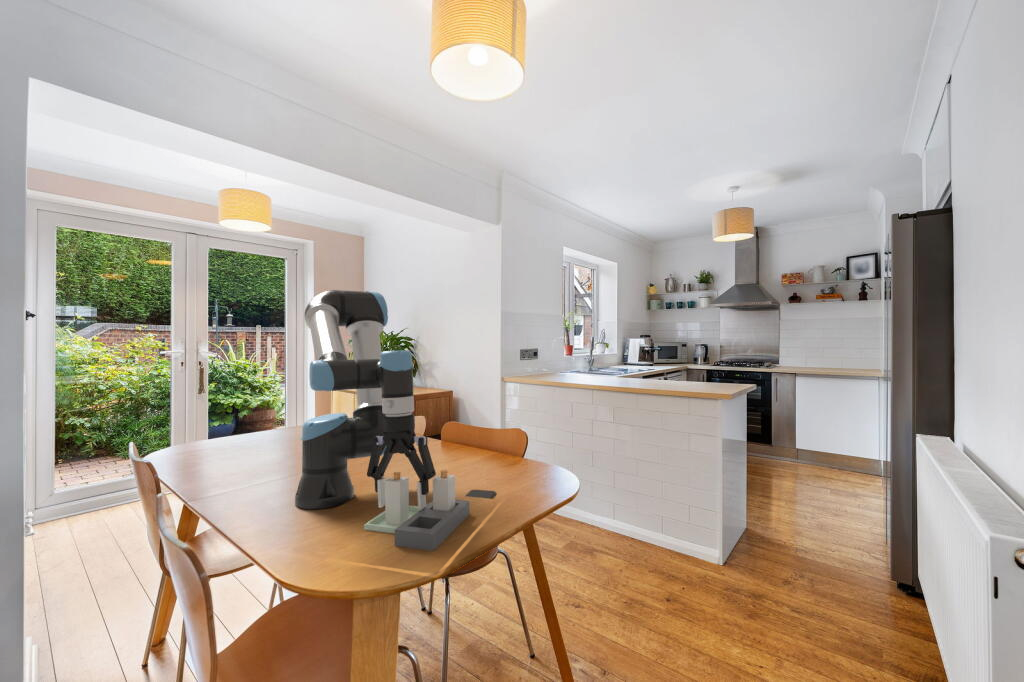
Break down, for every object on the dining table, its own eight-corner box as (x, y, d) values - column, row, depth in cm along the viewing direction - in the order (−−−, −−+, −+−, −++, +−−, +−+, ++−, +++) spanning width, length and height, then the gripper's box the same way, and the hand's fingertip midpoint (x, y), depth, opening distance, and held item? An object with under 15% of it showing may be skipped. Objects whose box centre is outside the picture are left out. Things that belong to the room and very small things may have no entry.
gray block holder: (394, 548, 93) (394, 489, 93) (436, 513, 112) (436, 464, 112) (433, 553, 90) (433, 492, 90) (469, 516, 109) (469, 466, 109)
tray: (364, 532, 101) (364, 524, 101) (395, 511, 114) (394, 504, 114) (400, 536, 98) (399, 528, 98) (427, 514, 111) (427, 507, 111)
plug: (385, 522, 105) (385, 474, 105) (394, 516, 108) (394, 469, 108) (400, 524, 103) (400, 475, 104) (408, 518, 107) (408, 471, 107)
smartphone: (479, 515, 111) (497, 493, 127) (479, 511, 111) (497, 490, 127) (450, 512, 113) (471, 492, 129) (450, 509, 113) (471, 488, 129)
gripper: (348, 416, 105) (352, 509, 105) (434, 416, 99) (438, 515, 99) (367, 412, 113) (370, 499, 112) (447, 411, 107) (451, 503, 106)
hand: (402, 506), depth 106 cm, fingers open, 10 cm apart
